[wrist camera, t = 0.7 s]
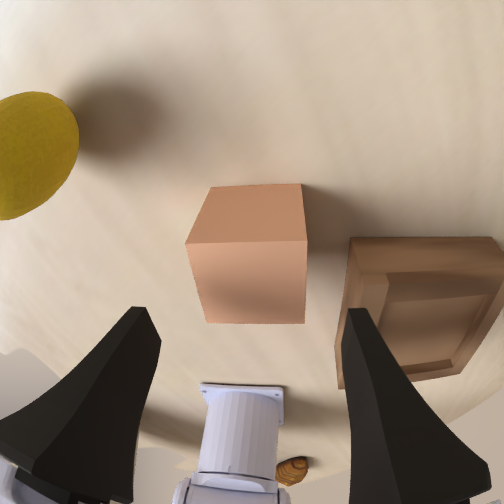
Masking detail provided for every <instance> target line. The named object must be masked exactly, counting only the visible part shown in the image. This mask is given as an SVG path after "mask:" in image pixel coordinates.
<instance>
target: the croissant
mask: <svg viewBox="0 0 504 504" xmlns="http://www.w3.org/2000/svg"><path fill="white" fill-rule="evenodd" d="M308 468H309V467H308V463H307V461H306V458H304V457H297V458H292V459H289V460H286V461H284V462H281V463H279V464H278V465H277V466H276V475H275V481H278V482H279V483H282V484H284V485H286V486H291V485H294V484H296V483H299V482H301V481H302V480H303V479H304V477H305V476H306V474H307V472H308Z"/></svg>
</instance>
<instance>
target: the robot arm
mask: <svg viewBox="0 0 504 504" xmlns="http://www.w3.org/2000/svg"><path fill="white" fill-rule="evenodd" d="M161 342H162V341H161V339H160V337H159V335H158V333H157V330H156V328H155V326H154V324H153V322H152V320H151V318H150V316H149V313H148V311H147V309H146V307H133V306H132V307H131V308H130V309H129V310H128V311H127V312H126V313H125V314H124V315H123V316H122V317H121V318H120V320H119V321H118V322H117V323H116V324H115V325H114V326H113V327H112V329H111V330H110V331H109V332H108V333H107V334H106V335H105V336H104V337H103V339H102V340H101V341H100V342H99V343H98V344H97V345H96V346H95V347H94V348H93V349H92V351H91V352H90V353H89V354H88V355H87V356H86V357H85V358H84V359H83V360H82V361H81V362H80V363H79V364H78V365H77V366H76V367H75V368H74V369H73V370H72V371H71V372H70V373H69V374H67V375H66V376H65V377H64V378H63V379H62V380H61V381H60V382H58V383H57V384H56V385H55V386H53V387H52V388H51V389H49V390H48V391H47V392H46V393H44V394H43V395H42V396H40V397H39V398H38V399H36V400H35V401H33V402H32V403H30V404H29V405H27V406H25V407H24V408H22V409H21V410H19V411H17V412H15V413H13V414H11V415H9V416H8V417H5V418H3V419H2V420H0V455H2V456H3V457H4V458H6V459H7V460H9V461H10V462H12V463H13V464H15V465H17V466H18V468H17V467H16V466H14V465H12V464H11V463H9V462H8V461H6V460H4V459H2V458H1V457H0V504H101V503H102V504H110V500H112V501H115V502H118V503H121V504H130V503H132V502H133V473H134V459H135V450H136V442H137V436H138V430H139V424H140V419H141V415H142V411H143V408H144V405H145V402H146V399H147V395H148V392H149V389H150V386H151V383H152V380H153V377H154V373H155V370H156V367H157V363H158V358H159V353H160V347H161ZM341 358H342V372H343V378H344V385H345V391H346V398H347V405H348V411H349V419H350V428H351V480H350V482H351V483H350V496H349V504H470V499H469V498H471V497H474V496H476V495H479V494H481V493H483V492H486V491H488V490H490V489H491V487H492V485H491V477H490V472H489V468H488V464H487V463H486V462H485V461H484V460H483V459H481V458H480V457H479V456H478V455H476V454H475V453H474V452H473V451H472V450H471V449H470V448H468V447H467V446H466V445H465V444H464V443H463V442H462V441H461V440H460V439H459V438H458V437H457V436H456V435H455V434H454V433H453V432H452V431H451V430H450V429H449V428H448V427H447V426H446V425H445V424H444V423H443V421H442V420H441V419H440V418H439V417H438V416H437V415H436V414H435V413H434V411H433V410H432V409H431V408H430V407H429V405H428V404H427V403H426V402H425V400H424V399H423V398H422V397H421V395H420V394H419V393H418V391H417V390H416V389H415V387H414V386H413V385H412V383H411V382H410V380H409V379H408V377H407V376H406V374H405V373H404V372H403V370H402V368H401V367H400V365H399V364H398V362H397V361H396V359H395V357H394V356H393V354H392V353H391V351H390V349H389V348H388V346H387V344H386V343H385V341H384V339H383V338H382V336H381V334H380V332H379V331H378V329H377V327H376V325H375V323H374V321H373V319H372V318H371V316H370V314H369V312H368V310H367V309H366V308H348V311H347V316H346V321H345V326H344V331H343V336H342V341H341ZM199 390H200V392H201V394H202V396H203V398H204V400H205V402H206V404H207V406H208V411H207V417H206V422H205V428H204V433H203V439H202V444H201V450H200V455H199V461H198V467H197V472H193V473H192V478H188V477H187V478H185V479H184V480H182V481H181V482H179V483H178V485H177V487H176V490H175V493H174V496H173V500H172V504H291V500H290V495H289V494H288V493H287V492H286V491H285V489H284V488H278V481H275V475H276V460H277V443H278V426H281V425H283V424H284V405H283V388H281V387H256V386H231V385H215V384H200V385H199ZM488 504H501V500H496V501H493V502H491V503H488Z"/></svg>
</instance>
